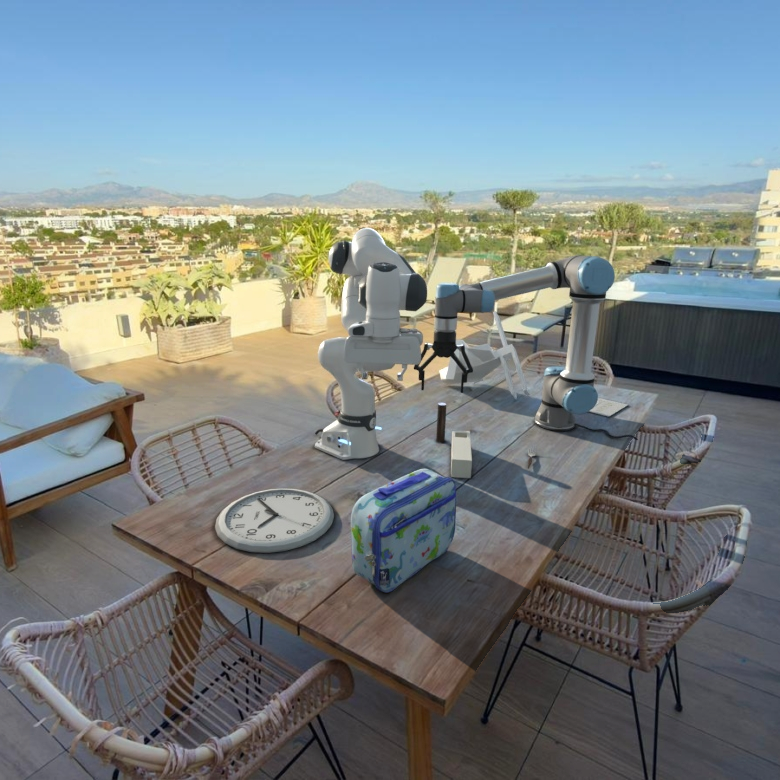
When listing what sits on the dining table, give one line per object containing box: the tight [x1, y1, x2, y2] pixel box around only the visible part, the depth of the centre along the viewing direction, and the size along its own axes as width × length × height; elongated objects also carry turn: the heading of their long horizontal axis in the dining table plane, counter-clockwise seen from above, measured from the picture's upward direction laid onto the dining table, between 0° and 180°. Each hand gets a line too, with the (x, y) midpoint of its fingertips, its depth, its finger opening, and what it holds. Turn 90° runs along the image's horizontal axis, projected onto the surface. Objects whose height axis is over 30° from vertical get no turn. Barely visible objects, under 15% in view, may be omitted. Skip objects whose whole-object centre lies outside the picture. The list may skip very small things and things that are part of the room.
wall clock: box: [214, 488, 335, 554], centre depth 135 cm, size 30×2×30 cm
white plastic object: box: [438, 310, 531, 400], centre depth 245 cm, size 37×45×31 cm
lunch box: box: [350, 468, 457, 593], centre depth 114 cm, size 26×11×21 cm, turn 134°
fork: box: [527, 445, 537, 469], centre depth 172 cm, size 3×16×2 cm, turn 160°
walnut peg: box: [435, 402, 448, 444], centre depth 185 cm, size 3×3×14 cm
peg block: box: [450, 429, 473, 479], centre depth 170 cm, size 6×24×6 cm, turn 173°
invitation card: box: [588, 397, 629, 418], centre depth 226 cm, size 21×1×15 cm
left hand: (382, 379), depth 138 cm, fingers open, 8 cm apart
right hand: (442, 390), depth 182 cm, fingers open, 13 cm apart
